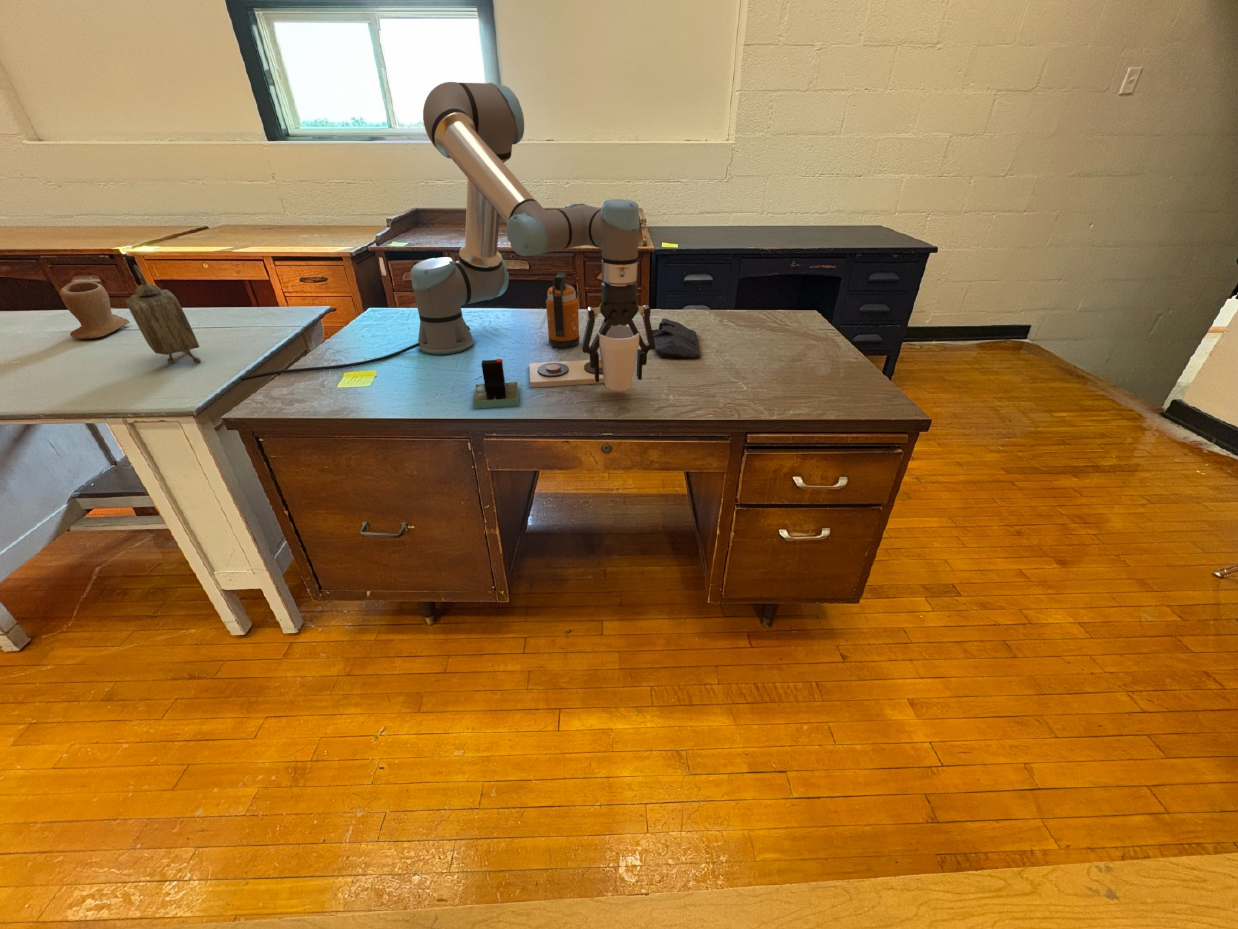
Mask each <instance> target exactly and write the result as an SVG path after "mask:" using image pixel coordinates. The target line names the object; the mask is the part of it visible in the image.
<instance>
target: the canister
mask: <svg viewBox="0 0 1238 929" xmlns="http://www.w3.org/2000/svg"><path fill="white" fill-rule="evenodd" d="M567 279H568V274H567V272H557V274H556V275H554V276H553V282H552V286H551V287H549V288H548V290H547V298H546V300H545V305H546V306H545V307H546V318H547V319H546V320H547V331H548V332H547V334H548V343H549V344H550V345H552V346H554V347H557V348H570V347H572V346H575V345H577V344H579V343H580V323H579V322H580V321H579V298H577V294H576V293H577V292H576V290H575V287H574V286H572V285H571V284H568V283H567Z"/></svg>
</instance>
